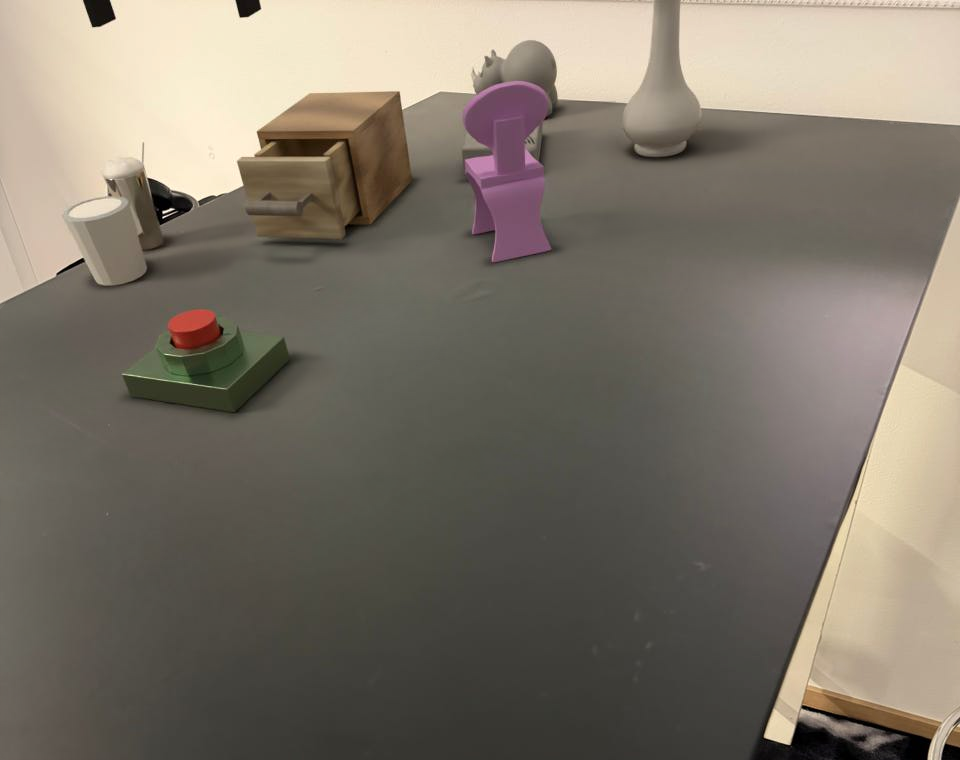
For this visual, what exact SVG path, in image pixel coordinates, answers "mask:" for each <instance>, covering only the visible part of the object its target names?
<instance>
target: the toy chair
mask: <svg viewBox="0 0 960 760" xmlns="http://www.w3.org/2000/svg"><path fill="white" fill-rule="evenodd" d="M547 112H548V98H547V95H546V93H545V91H544V90H543V89H542V88H540V87H539V86H537V85H535V84H532V83H529V82H524V81H511V82H506V83H501V84H497V85H494V86H491V87H489V88H487V89H485V90H483V91H482V92H480V93H479V94H475V95H474V96H473V97H472V98H471V99H470V100H469V101H468V102H467V103H466V104H465V106H464V108H463V110H462V113H461V117H462V118H461V119H462V122H463V123H462V124H463V126H464V127H465V130H466V133H467V132H468V133H469V134H470V135H471V136H472V137H473V138H474V139H476V141H477V142H478V143H481V144H483V145H485V146H487V147H489V148H490V149H491V150H492V151H493V155H491V156H483V157H475V158H470V159H465V173H466V176H465V177H466V179H467V181H468V183H469V185H470V188H471V190H472V193H473V197H474V203H475V205H474V206H475V209H474V218H473V224H472V229H471V234H472V235H477V234H484V233H488V232H493V231H495V237H494V246H493V251H492V255H491V262H492V263H498V262H503V261H508V260H512V259H516V258H521V257H525V256H531V255H534V254H535V255H536V254H539V253H540V254H541V253H546V252H550V251H552V247H551V245H550V242H549V241H548V238H547V236H546V234H545V230H544V228H543V225H542V220H541V208H542V202H543V197H544V193H545V188H546V179H545V166H544V165H543V164H542V163H541V162H540V161H539V162H538V161H537V160H535V159H534V158H533V157H532V156H531V154H530V153H529V152H528V151H527V150H526V149H525V140H526V139H527V138H528V136H529V135H530V134H532V133H533V132H534V130H535V129H536V128H537V127H538V126H539V125H540V124H541V123H542V124H543V121H545V119H546V117H547V116H546V115H547Z"/></svg>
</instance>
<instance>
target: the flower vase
mask: <svg viewBox="0 0 960 760" xmlns="http://www.w3.org/2000/svg"><path fill="white" fill-rule="evenodd" d="M681 2H682V1H681V0H652V20H651V21H652V22H651V33H650V34H651V37H650V48H649V57H648V62H647V66H646V71H645V73H644V77H643V79H642V81H641V84H640V85H639V87H638V89H637V90H636V92H635V93H634V94H633V95H632V96H631V98H630V99H629V101H628V102H627V104H626V105H625V107H624V110H623V113H622V117H621V126H622V130H623V133H624V134H625V135H626V137H627V138H628V139H629V140H630V141H631V142H632V143H633V144H634V147H633V148H634V152H635V153H636V154H637V155H640V156H643V157H647V158H665V157H671V156H675V155H678V154H680V153H682V152H684V150H685V149H686V147H687V145H688V144H687V140H689V139H690V138H692V136H694V134H695V133H696V132H697V130H698V129H699V127H700V124H701V122H702V120H703V119H702V118H703V113H702V106H701V104H700V101H699V99H698V97H697V96H696V94H695V93H694V91H693V90H692V89H691V88H690V87H689V85H688V84H687V82H686V79H685V77H684V74H683V73H684V72H683V69H682V66H681V65H682V64H681V56H680V30H681V29H680V27H681V25H680V23H681V22H680V21H681Z"/></svg>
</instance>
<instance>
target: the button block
mask: <svg viewBox="0 0 960 760" xmlns="http://www.w3.org/2000/svg"><path fill="white" fill-rule="evenodd" d="M216 319H217V322H218V325H219V328H220V331H221V337H220V338H218V339H217V340H216V341H215V342H212V343H210V344H207V345H205V346H203V347H199V348H192V349H180V348H177V347H176V346H175V344H174V342H173V339H172V336H171V334H170V331H169V328H168V329H166V330H165V331H164V332H162V333H161V334H160V335H158V337H157V340H156V344H155V346H154V347H153V348H152V349H151V350H150V351H148V352H147V353H146V354H144V356H142V357H141V358H140V359H138V360H137V361H136V362H135V363H133V364H132V365H131V366H129V367H128V368H127V369H126V370H125V371H123V372H122V373H121V376H122V378H123V381H124V383H125V385H126V386H125V387H126V388H127V390H128V393H129V395H130V397H132V398H137V399H138V398H140V399H146V400H153V401H157V402H164V403H171V404H178V405H182V406H183V405H185V406H191V407H196V408H204V409H210V410H217V411H223V412H228V413H229V412H230V413H236V412H237V411H238V410H239V409H241V407H242V406H243V405H245V403H246V402H248V401H249V399H251V397H252V396H254V395H255V394H256V393H257V392H258V391H259V390H260V389H261V388H262V387H263V386H264V385H265V384H266V383H268V381H269V380H270V379H272V377H274V375H276V374H277V373H278V372H279V371H280V370H281V369H282V368H283V367H284V366H285V365H286V364H287V363H288V362H289V361H291V358H290V353H289V351H288V346H287V343H286V338H285V337H284V336H281V335H274V334H273V335H272V334H264V333H256V332H246V331H240V328H239V325H238V324H237V323H236V322H235V321H234V320H232V319H231V318H229V317H223V316H216Z"/></svg>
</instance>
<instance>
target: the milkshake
mask: <svg viewBox="0 0 960 760" xmlns="http://www.w3.org/2000/svg"><path fill="white" fill-rule="evenodd" d="M144 155H145V142H144V141H143V142H142V147H141V160H139V159H138V158H135V157H133V156H118V157H115V158H113V159H110V160H107V161H106V162H104V163H103V166H102V168H101V175H102V178H103V181H104V182H105V184H106V186H107V188H108V190H109V192H110V194H111V196H119V197H124V198H126V199H127V200H128V201H129V205H130V209H131V212H132V216H133V219H134V223H135V227H136V230H137V234H138V237H139V241H140V245H141V248H142V251H150V250H153V249H156V248H158V247H161V246H162V245H164V242H165V241H164V240H165V239H164V236H163V233H162V228H161V225H160V221H159V218H158V215H157V214H158V213H157V210H156V207H155V204H154V203H155V202H154V199H153V196H152V192H151V188H150V184H149V180H148V175H147V172H146V168H145V164H144V159H145V156H144Z"/></svg>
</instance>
